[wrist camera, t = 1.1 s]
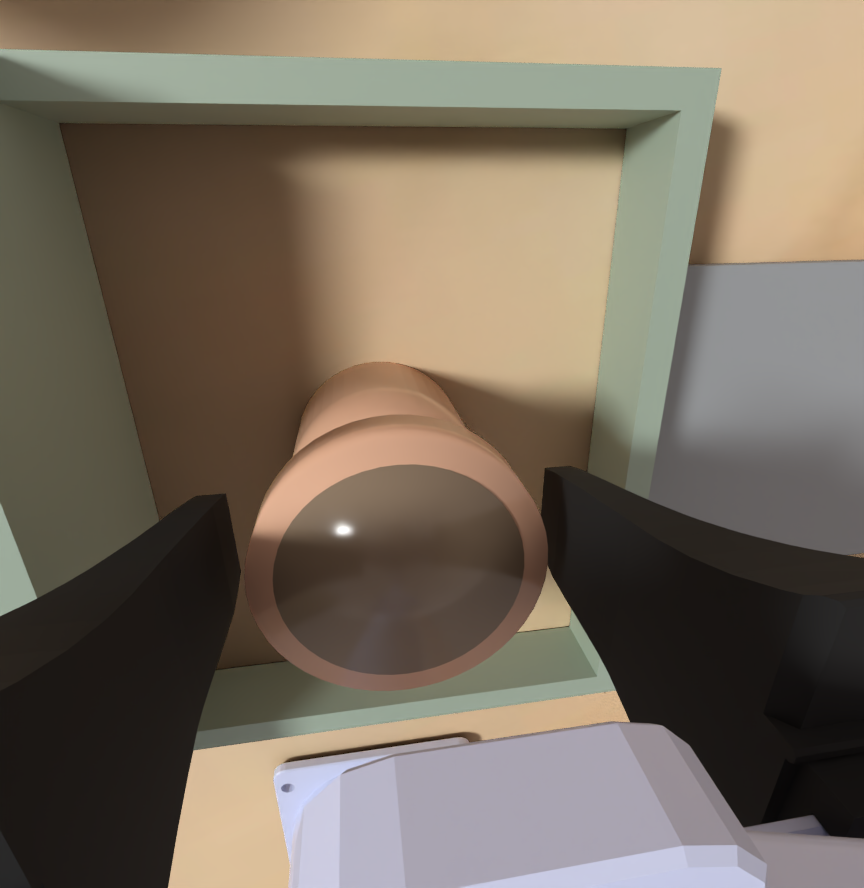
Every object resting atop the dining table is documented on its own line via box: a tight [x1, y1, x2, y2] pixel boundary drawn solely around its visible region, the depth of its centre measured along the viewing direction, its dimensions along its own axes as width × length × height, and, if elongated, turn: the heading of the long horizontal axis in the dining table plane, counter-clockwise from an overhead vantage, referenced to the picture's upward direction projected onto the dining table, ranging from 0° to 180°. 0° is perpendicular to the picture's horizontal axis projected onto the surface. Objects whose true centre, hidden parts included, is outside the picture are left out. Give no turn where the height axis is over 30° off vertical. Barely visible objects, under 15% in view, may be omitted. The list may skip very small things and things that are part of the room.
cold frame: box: [0, 49, 721, 750], centre depth 14 cm, size 19×16×6 cm
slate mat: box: [648, 260, 864, 555], centre depth 18 cm, size 11×11×1 cm
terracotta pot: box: [244, 362, 548, 691], centre depth 13 cm, size 6×6×7 cm
